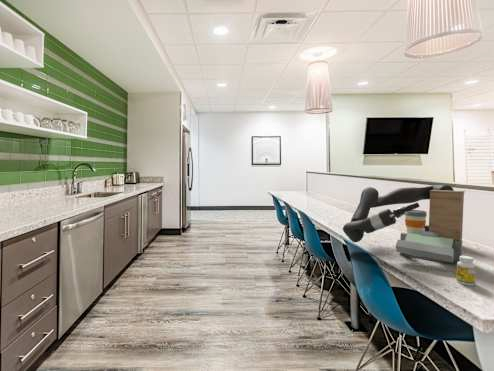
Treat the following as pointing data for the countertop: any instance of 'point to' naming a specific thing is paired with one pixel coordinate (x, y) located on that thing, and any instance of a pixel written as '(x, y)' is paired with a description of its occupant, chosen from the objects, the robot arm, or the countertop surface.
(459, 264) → the supplement bottle
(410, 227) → the reusable coffee cup
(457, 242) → the trapdoor frame
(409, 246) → the slate bar
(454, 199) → the walnut pedestal
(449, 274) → the countertop surface
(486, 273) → the countertop surface
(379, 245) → the countertop surface
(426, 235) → the trapdoor
